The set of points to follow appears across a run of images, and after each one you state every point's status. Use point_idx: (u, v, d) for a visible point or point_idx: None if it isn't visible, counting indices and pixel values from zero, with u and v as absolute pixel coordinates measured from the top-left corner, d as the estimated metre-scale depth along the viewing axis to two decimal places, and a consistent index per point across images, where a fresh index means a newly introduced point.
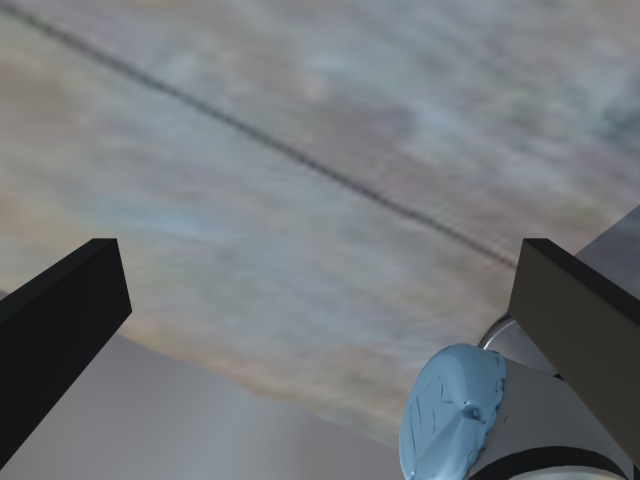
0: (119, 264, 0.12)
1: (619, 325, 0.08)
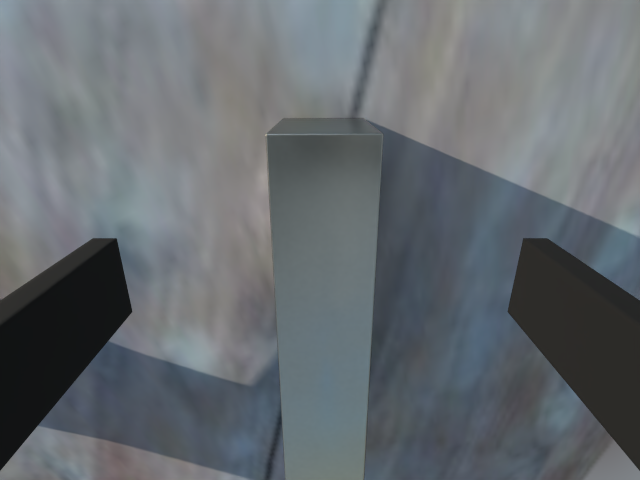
0: (119, 264, 0.12)
1: (619, 325, 0.08)
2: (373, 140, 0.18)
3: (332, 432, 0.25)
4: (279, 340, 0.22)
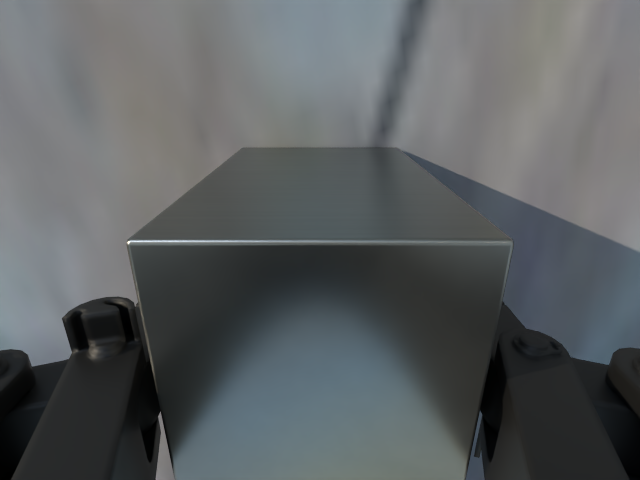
0: None
1: None
2: (479, 260, 0.05)
3: None
4: None
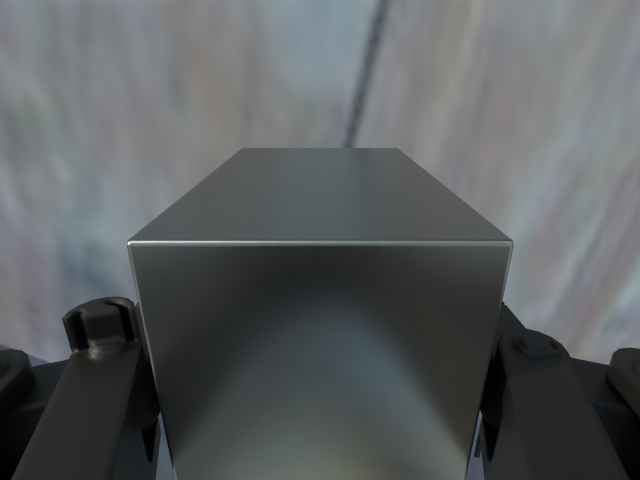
0: None
1: None
2: (479, 262, 0.05)
3: None
4: None
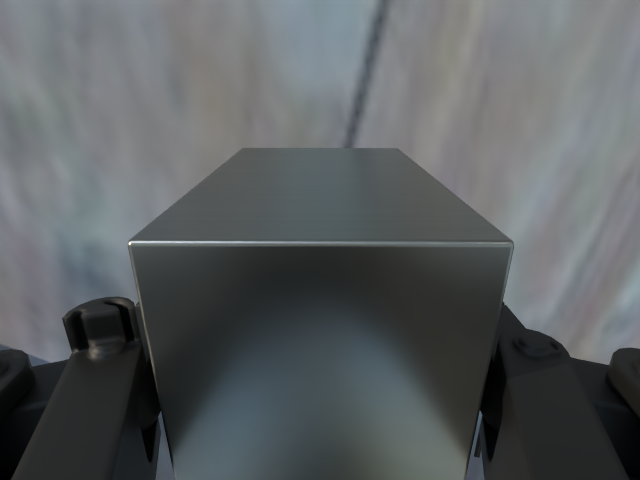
0: None
1: None
2: (480, 262, 0.05)
3: None
4: None
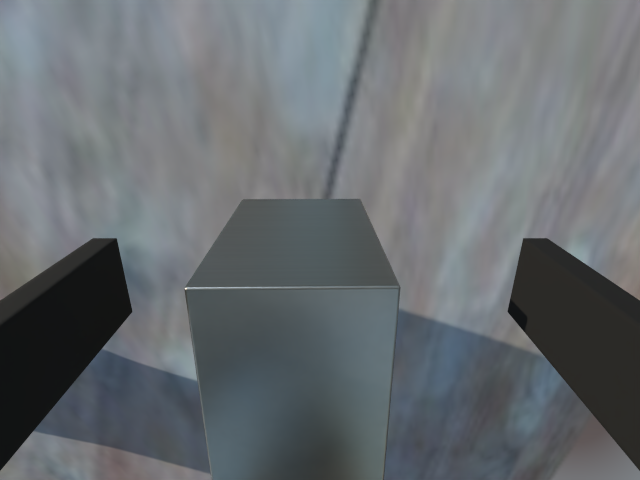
0: (119, 264, 0.12)
1: (619, 325, 0.08)
2: (381, 297, 0.10)
3: None
4: None
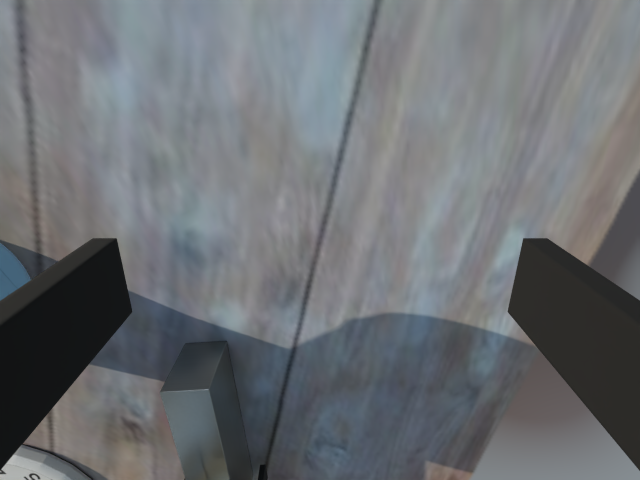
0: (119, 264, 0.12)
1: (619, 325, 0.08)
2: (205, 392, 0.42)
3: None
4: (182, 466, 0.47)
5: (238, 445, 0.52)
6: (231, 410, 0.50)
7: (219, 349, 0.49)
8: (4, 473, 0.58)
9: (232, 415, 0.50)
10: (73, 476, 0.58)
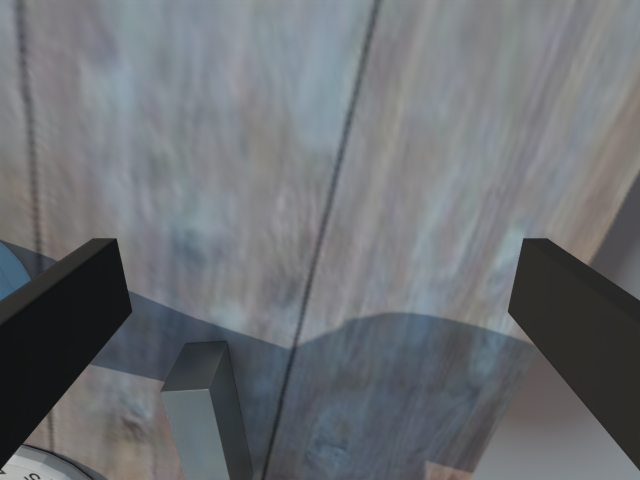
0: (119, 264, 0.12)
1: (619, 325, 0.08)
2: (205, 392, 0.42)
3: None
4: (182, 466, 0.47)
5: (238, 445, 0.52)
6: (231, 410, 0.50)
7: (219, 349, 0.49)
8: (4, 473, 0.58)
9: (232, 415, 0.50)
10: (73, 476, 0.58)
